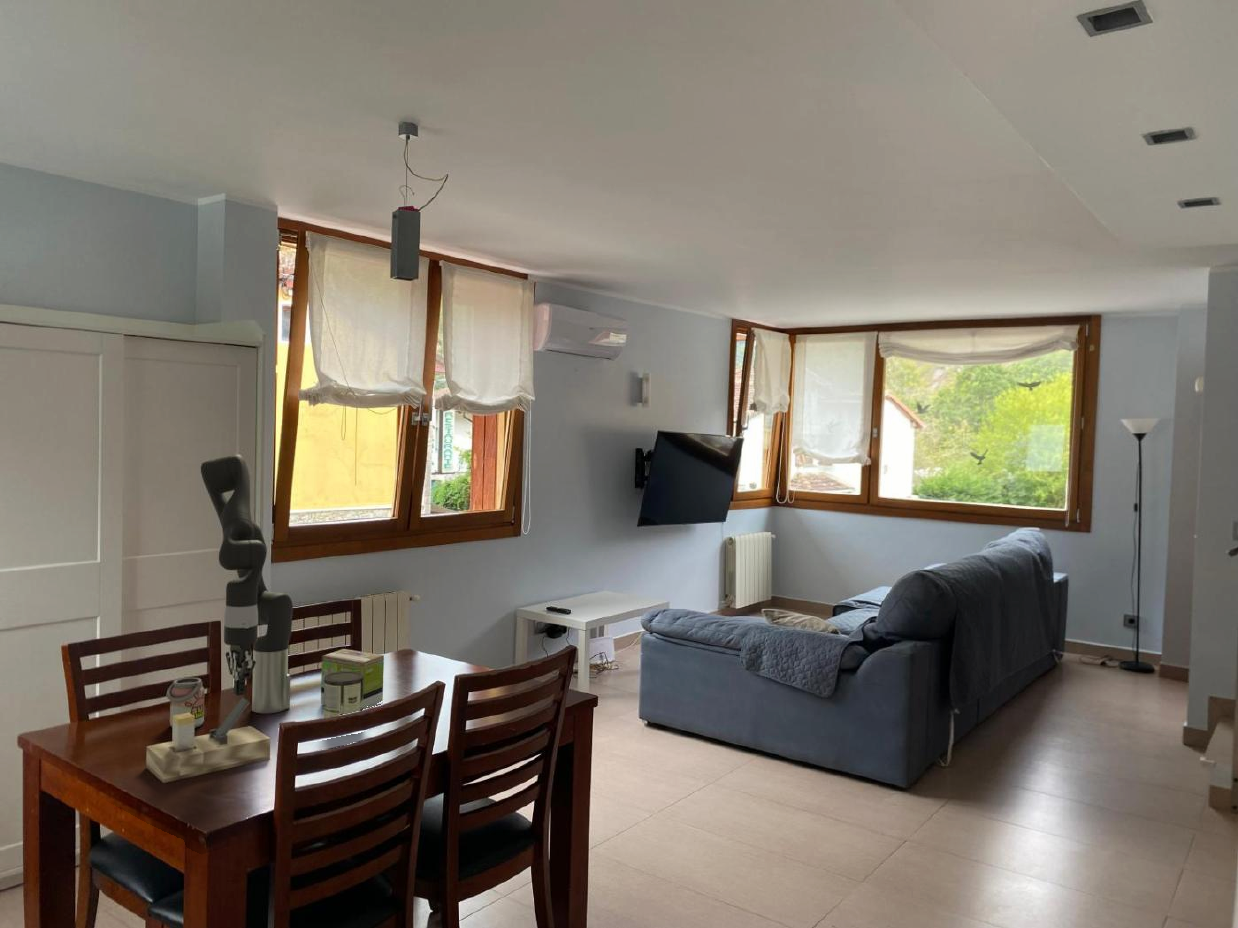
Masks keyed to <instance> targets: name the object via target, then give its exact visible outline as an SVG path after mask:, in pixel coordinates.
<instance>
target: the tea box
mask: <svg viewBox="0 0 1238 928" xmlns="http://www.w3.org/2000/svg"><path fill="white" fill-rule="evenodd" d="M384 656H385V655H383V654H379V653H378V654H377V653H371V652H364V651H359V650H353V649H346V648H341V649H339V650H336V651H334V652H330V653H327V654H324V655H321V674H320V675H321V676H320V677H321V678H320V679H321V680H320V681H321V683H320V704H321V705H323V706H324V677H325V676H326V675H328V674H331V673H336V672H358V673H362V674H363V675H364V679H363V709H366V708H370V707H372V706H375V705H377V703H379V702H381V701H383V700H384V698H383V697H384V695H383V694H384V670H385V669H384V668H385V667H384V665H385V664H384V663H385V662H384V661H385V657H384ZM367 706H368V707H367Z"/></svg>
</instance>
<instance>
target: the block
mask: <svg viewBox="0 0 1238 928" xmlns="http://www.w3.org/2000/svg"><path fill="white" fill-rule="evenodd" d="M218 729H219V728H213V729H209V733H206V734H202V735H196V736H194V749H192V750H187V751H183V752H178V753H175V752H173V751H172V741H167V742H162V743H161V742H160V743H156V744H152V745H147V746H146V759H145V762H146V765H145V767H146V769H147V770H148V771H149V772H151V774H153V775H154V776H155V777H156V778H157V779H159V781H161V782H162V783H163V784H165V783H169V782H174V781H179V780H183V779H187V778H192V777H197V776H201V775H205V774H210V773H213V772H214V773H215V772H218V771H223V770H227V769H230V768H231V769H232V768H237V767H240V766H245V765H248V764H252V763H257V762H262V761H267V760H271V738H270V737H269V736H267V735H266V734H264V733H263V732H261V731H260V730H258V729H256V728H255V727H254V726H251V725H248V726H243V727H237V728H231V729H230V730H229V731H228V733H227V734H226V735H224V736H219V741H218V740H217V739H215V738H214V737H213V736H212V734H213V733H214V732H216V731H217V730H218Z"/></svg>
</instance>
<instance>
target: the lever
mask: <svg viewBox="0 0 1238 928" xmlns="http://www.w3.org/2000/svg"><path fill="white" fill-rule="evenodd" d="M250 704H251V702H250V701H249V700H248V699H246V698H244V697H241V699H240V700H239V701H238V703H237V704H236V705H235V706H234V708H233V709H232V710H231V712H230V713H229V715H228V716H227V717H226V718H225V719H224V721H223V722H222V724H220V726H219V728H217V729H218V730H217V731H216V732H214V733H213V734H212V736H213V737H214V738H215V739H217V740H218V741H219V736H224V735H226V734H227V733H228V731H229V730H232V728H233V726H234V725H235V723H236V722H237V721H238V719H239V718H240V717H241V715H242V714H243V713H244V711H245V710H247V709H246V708H248V706H249V705H250Z"/></svg>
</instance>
